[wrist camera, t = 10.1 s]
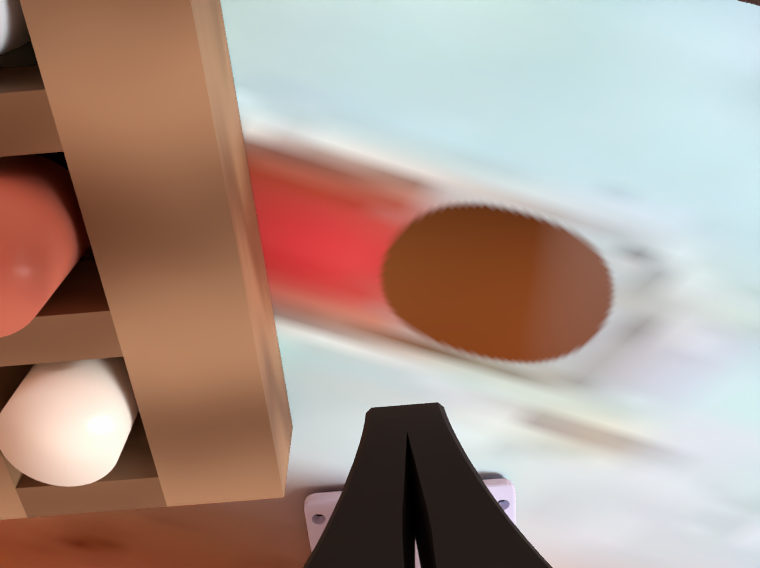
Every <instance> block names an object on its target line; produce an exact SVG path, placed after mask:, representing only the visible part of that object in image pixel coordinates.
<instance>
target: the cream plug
mask: <svg viewBox="0 0 760 568" xmlns="http://www.w3.org/2000/svg"><path fill="white" fill-rule="evenodd" d="M138 412H139V408H138V405H137V402H136V398H135V395H134V391H133V388H132V384H131V381H130V378H129V374H128V371H127V367H126V364H125V360H124V357H113V358H101V359H88V360H76V361H64V362H52V363H39V364H34V365H33V367H32V368H31V370H30V371H29V372H28V374H27V375H26V377H25V378H24V380H23V381H22V382H21V384H20V385H19V387H18V388H17V390H16V391H15V392H14V394H13V395H12V397H11V398H10V400H9V401H8V403H7V404H6V405H5V407H4V408H3V410H2V411H1V413H0V450H1V452H2V453H3V455H4V456H5V458H6V459H7V460H8V461H9V462H10V463H11V464H12V465H13V466H14V467H15V468H16V469H18V470H19V471H21V472H22V473H24V474H25V475H27V476H29V477H31V478H33V479H35V480H37V481H40V482H43V483H47V484H51V485H56V486H66V487H70V486H81V485H86V484H90V483H93V482H95V481H97V480H99V479H101V478H103V477H104V476H106V475H107V474H108V473H109V472H110V471H111V470H112V469H113V468H114V466H115V465H116V463H117V461H118V459H119V456H120V454H121V452H122V449H123V447H124V445H125V442H126V440H127V438H128V435H129V433H130V431H131V428H132V426H133V424H134V421H135V419H136V417H137V414H138Z"/></svg>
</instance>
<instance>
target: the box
mask: <svg viewBox="0 0 760 568" xmlns="http://www.w3.org/2000/svg"><path fill="white" fill-rule="evenodd" d="M739 1H742V2H746V3H751V4H755V5H758V6H760V0H739Z"/></svg>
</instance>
